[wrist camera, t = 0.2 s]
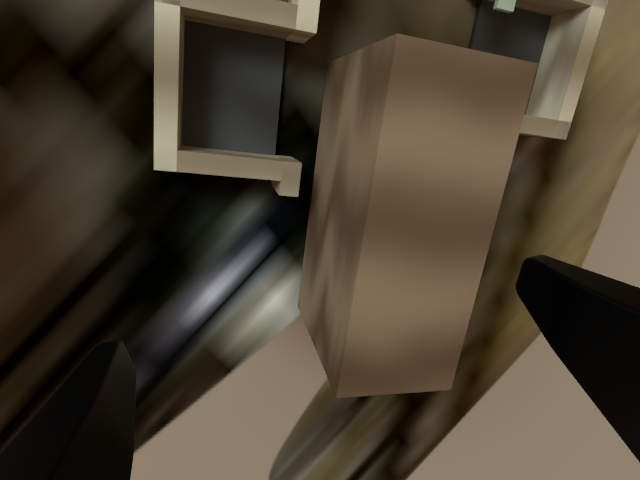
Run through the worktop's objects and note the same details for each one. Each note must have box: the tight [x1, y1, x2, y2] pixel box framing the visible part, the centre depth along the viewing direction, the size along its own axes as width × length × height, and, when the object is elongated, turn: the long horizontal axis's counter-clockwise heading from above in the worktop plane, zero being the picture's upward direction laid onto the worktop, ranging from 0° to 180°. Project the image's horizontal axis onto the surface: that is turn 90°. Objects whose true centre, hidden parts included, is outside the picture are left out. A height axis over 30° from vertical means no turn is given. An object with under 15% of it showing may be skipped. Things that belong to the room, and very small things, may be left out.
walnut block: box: [298, 33, 538, 398], centre depth 20 cm, size 15×6×9 cm, turn 172°
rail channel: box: [154, 0, 608, 197], centre depth 20 cm, size 17×23×4 cm
